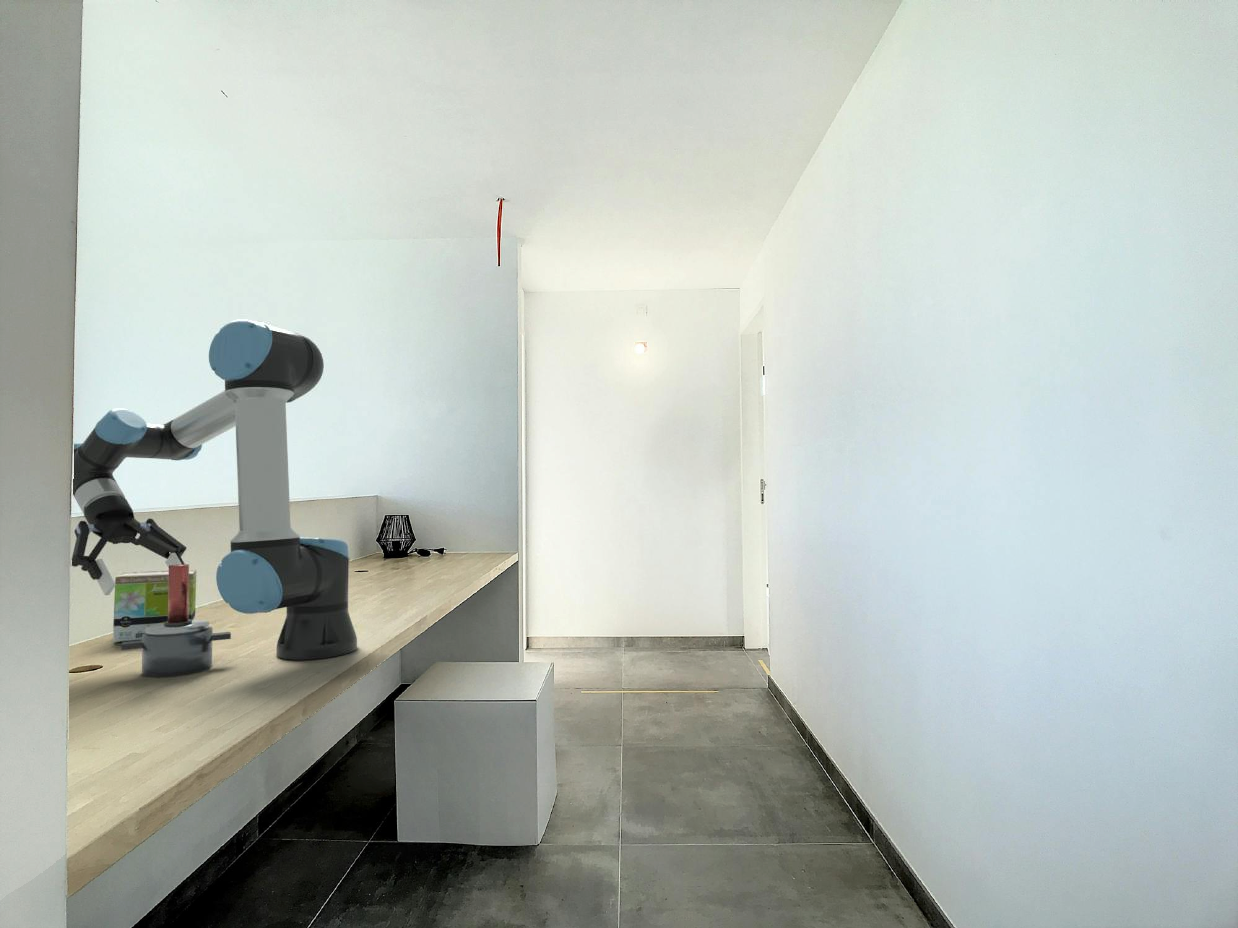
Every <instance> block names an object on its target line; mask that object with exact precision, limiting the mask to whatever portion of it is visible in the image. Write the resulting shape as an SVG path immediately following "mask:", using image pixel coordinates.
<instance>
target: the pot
mask: <svg viewBox="0 0 1238 928" xmlns="http://www.w3.org/2000/svg"><path fill="white" fill-rule="evenodd" d="M231 637H232V633H231V631H223V632H222V631H220V632H214V633H213V626H210V625H209V629H208V630H206V631H203V632H199V633H194V634H188V635H181V636H169V637H151V636H146V635H145V633H144V634H143V635H142V640H131V641H121V642H122V643H121V646H120V647H121V651H126V650H127V651H128V650H138V649H141V675H142V676H143V677H147V678H148V677H149V678H169V677H178V676H185V675H193V674H195V673H199V672H203V671H206V670H208V669H210V668H211V667H213V641H223V640H231Z"/></svg>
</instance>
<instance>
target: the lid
mask: <svg viewBox="0 0 1238 928" xmlns="http://www.w3.org/2000/svg"><path fill="white" fill-rule="evenodd" d="M189 570H190V564H186V563H185V564H180V565H170V566H169V568H168V571H169V582H168V621H167V622H163V623H158V624H153V625H150V626H147V627H146V633H145V635H146V636H151V637H169V636H181V635H188V634H194V633H199V632H203V631H206V630H208V629H209V626H210V621H209V620H206V619H195V620H190V619H188V602H189Z"/></svg>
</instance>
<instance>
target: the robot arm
mask: <svg viewBox="0 0 1238 928" xmlns="http://www.w3.org/2000/svg"><path fill="white" fill-rule="evenodd" d="M208 362H209V367H210V368H211V370H212V371H213V372H214V374H215V375H216V376H217V377H218V378H220V379H221V380H224V390H223V391H221V392H220V393H218V394H216V395H214V396H212V397H211V398H209V399H207V400H205V401H204V402H202V403H199V404H198V405H197V406H194V407H193V408H192V409H189V410H188V411H186V412H185V413H183V414H180V415H179V416H177V417H175V418H173V419H172V420H169V421H168V422H166V423H163V424H162V423H161V424H159V423H151V422H150V423H147V422H146V420H145V419H144V418H143V417H141V416H140V415H139V414H138V413H136V412H134V411H130V410H129V409H126V408H117V407H116V408H112V409H111V410H109V411H107V413H106V414H105V415H104V416H103V417H102V418H100V420H98V422H97V423H96V424H95V426H94V428H93V429H92V431H91V432H90V433H89V434H88V436H87V437H86V439H85V440H84V441H83V442H76V443H75V442H74V443H73V444H74V479H73V494H72V496H73V497H74V500H75V501H76V504H77V505H78V507H79V509H80V511H81V512H82V513H83V516H84V518H85V520H80V521H79V522H78V524H77V526H76V527H75V529H74V534H75V537H76V539H75V544H74V548H73V552H72V556H71V560H72V565H71V566H72V567H74V568H77V567H78V566H81V567H80V569H81V571H83V572H88V574H89V576H90V579H92V580H93V581H94V580H96V582H97V583H98V585H99V587H100V589H101V590H102V593H103V595H104V596H110V595H111V593H112V592H113V590H115V586H116V584H115V580H114V579H113V577H112V575H111V573H110V572H109V570H108V567H107V566H106V564H105V562H104V560H103V558H98V557H99V556H100V554H101V552H102V551H103V549H104V547H105V546H106V545H107V544H108V543H109V544H110V543H111V544H112V545H117V544H133V545H135V546H140V547H142V548H145V549H147V550H148V551H150V552H153V553H154V554H156V555H158V556H160V557H162V558H164V559H166V560H165V564H166V566H167V567H168V569H169V566H170V565H180V564H186V563H185V562H184V560H183V558H182V556H183V555H184V554H185V552H186V551H187V546H185V545H184V544H183V543H182V542H180V541H179V540H177V539H176V538H174V537H173V535H171V534H169V533H168V532H167V531H165V530H164V529H163V528H162V527H160V526H159V525H158V524H157V523H156V521H155V520H154V519H153V518H151V517H150V518H148V519H147V520H146V521H143V522H140V521H138V520H137V519H136V518H135V515H134V511H133V509H132V507H131V504H130V503H129V501H128V500H127V498H126V496H125V494H124V492H123V491H122V489H121V488H120V486H119V484H118V482H117V480H116V479H115V477H114V475H113V473H114V472H115V471H116V469H117V468H119V466H120V465H121V464H122V463H123V461H124V460H125V459H126V458H134V459H137V458H138V459H154V460H155V459H156V460H169V461H170V460H171V461H183V460H185V461H186V460H191V459H194V458H195V457H197V456H198V454H199V452H200V451H201V450H202V448H203V444H205V443H207V442H209V441H211V440H213V439H214V438H216V437H219V436H220V435H222V434H224V433H226V432H227V431H229V430H231V429H233V428H235V442H236V443H235V444H236V445H235V446H236V447H235V448H236V468H237V469H236V472H237V473H236V474H237V499H238V501H237V502H238V503H237V504H238V525H239V526H238V529H239V530H238V533H236V535H235V536H234V537H233V538H231V539H230V552H229V553H227V554H226V555H225V556H224V557H223V558H222V559H221V561H220V562H221V563H219V564H218V566H217V568H216V574H215V575H216V578H215V579H216V580H215V582H216V586H217V589H218V592H219V594H220V597H221V598H222V600H223V601H224V602H225V603H226V604H228V605H229V607H230V608H232V609H233V610H234V611H236V612H238V613H240V614H241V613H242V614H247V615H248V614H249V615H253V614H261V613H264V614H265V613H270V612H272V611H275V610H279V609H284V608H286V616H285V619H284V622H283V625H282V628H281V631H280V633H279V637H278V639H277V643H276V657H278V658H280V659H284V660H298V661H299V660H303V661H304V660H318V659H319V660H320V659H326V658H333V657H337V656H342V655H346V654H349V653H352V652H354V651H356V650H357V649H358V637H357V633H356V631H355V628H354V625H353V622H352V619H351V616H350V613H349V565H350V564H349V563H350V556H349V546H348V543H347V542H346V541H344V540H343V539H336V538H319V537H301V535H300V534H298V533H297V531H294V529H293V528H292V527H291V526H292V525H291V509H290V507H291V502H290V482H289V481H290V479H289V478H290V477H289V459H288V458H289V457H288V456H289V454H288V432H287V430H288V428H287V427H288V426H287V406H286V405H287V404H288V403H291V402H294V401H296V400H298V399H299V398H301V397H303V396H305V395H306V394H307V393H309V392H311V391H312V390H313V389H314V388H315V387H316V386H317V385H318V383H319V382H320V381H321V378H322V376H323V373H324V366H325V364H324V358H323V354H322V352H321V351H320V348H319V347H318V345H316V344H315V343H314V341H312V340H311V339H310V338H308V337H306V336H305V335H302V334H299V333H296V332H291V331H289V330H286V329H282V328H280V327H275V326H272V325H269V324H266V323H265V322H262V321H253V320H249V319H243V318H242V319H235V320H232V321H230V322H227V323H225V324H224V325H223V326H222V327H221V328H220V329H219V330H218V333H217V332H216V333H215V335H214V336H213V338H212V340H211V342H210V346H209V350H208ZM91 533H93V534H94V535H95V536H98V537H99V540H98V541H97V543H96V544H95V546H94V547H93V549H92V550H91V552H90V553H89V555H85V552H86V549H87V545H88V544H87V543H88V540H89V535H90V534H91ZM138 534H139V537H138V538H136V537H137V536H138ZM97 558H98V559H97Z"/></svg>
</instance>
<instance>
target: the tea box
mask: <svg viewBox="0 0 1238 928" xmlns="http://www.w3.org/2000/svg"><path fill="white" fill-rule="evenodd" d="M168 582H169V570H148V571H125V572H122V573H120V574H119V575H117V576H115V579H114V583H115V584H116V586H115V587H114V600H113V601H114V604H113V606H114V607H113V621H112V623H113V627H112V628H113V631H112V632H113V637H112V638H113V639H112V640H113V644H114V643H115V644H116V643H121V642H129V641H140V640H142V635H143V634H144V633H146V627H147V626H150V625H153V624H158V623H163V622H167V621H168ZM196 591H197V569H189V602H188V619H190V620H196V601H197V600H196V599H197V598H196V595H197V593H196Z"/></svg>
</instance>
